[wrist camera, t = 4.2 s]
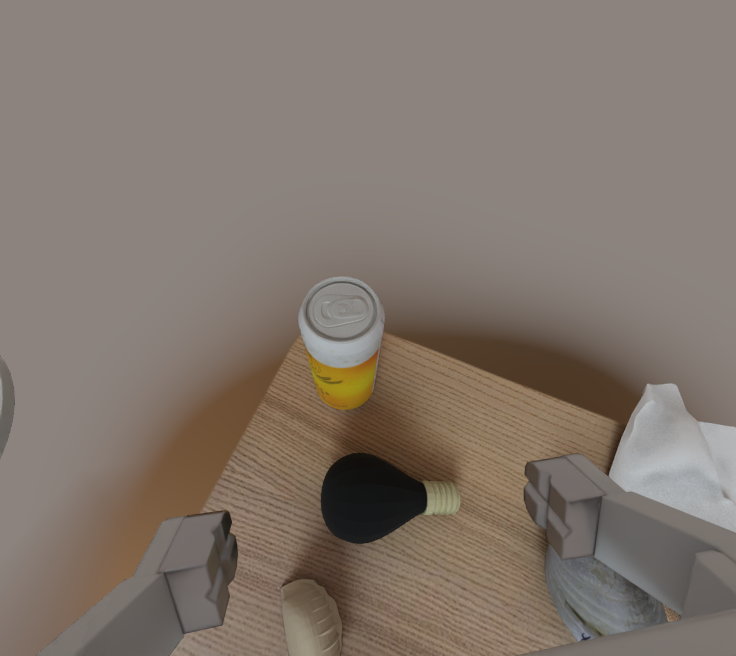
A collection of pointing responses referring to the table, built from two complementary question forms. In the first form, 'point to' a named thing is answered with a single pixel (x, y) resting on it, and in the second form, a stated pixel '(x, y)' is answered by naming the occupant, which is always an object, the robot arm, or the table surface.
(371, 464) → the light bulb
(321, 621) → the decorative ornament
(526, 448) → the table surface
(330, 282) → the beer can
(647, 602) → the seashell
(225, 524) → the robot arm
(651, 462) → the cloth
